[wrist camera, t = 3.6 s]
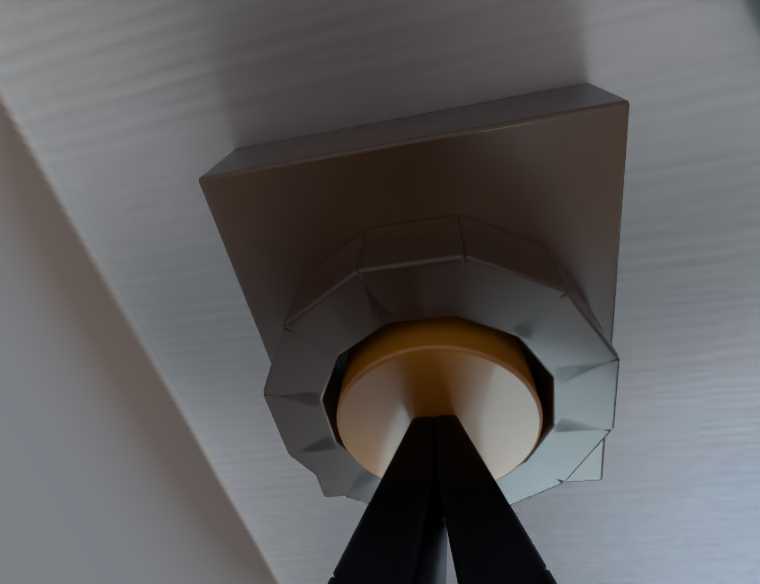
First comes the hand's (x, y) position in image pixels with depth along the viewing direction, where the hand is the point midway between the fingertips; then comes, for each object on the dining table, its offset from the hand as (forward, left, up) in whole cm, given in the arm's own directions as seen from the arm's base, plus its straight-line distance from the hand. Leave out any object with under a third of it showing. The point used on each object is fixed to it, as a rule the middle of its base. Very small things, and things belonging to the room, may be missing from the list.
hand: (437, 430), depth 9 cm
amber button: (0, 0, -2) cm, 2 cm away
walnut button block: (0, 0, -4) cm, 4 cm away
